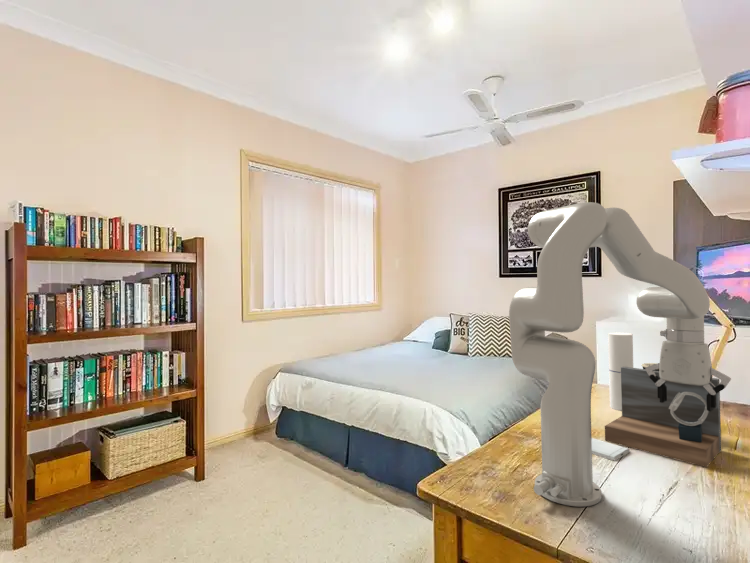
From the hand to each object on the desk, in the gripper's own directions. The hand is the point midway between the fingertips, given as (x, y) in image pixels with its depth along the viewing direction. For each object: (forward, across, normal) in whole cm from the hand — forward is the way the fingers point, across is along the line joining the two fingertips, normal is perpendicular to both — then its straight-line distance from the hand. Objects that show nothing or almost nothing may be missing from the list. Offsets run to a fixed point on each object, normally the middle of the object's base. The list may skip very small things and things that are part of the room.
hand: (685, 405), depth 104 cm
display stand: (+12, -6, +1) cm, 13 cm away
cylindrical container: (+12, -25, +28) cm, 39 cm away
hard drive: (+13, -16, -13) cm, 24 cm away
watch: (+8, +1, 0) cm, 8 cm away
